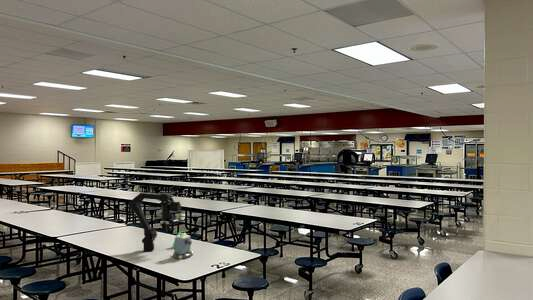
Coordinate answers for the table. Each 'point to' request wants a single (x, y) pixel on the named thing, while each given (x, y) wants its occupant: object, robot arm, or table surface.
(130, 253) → the table surface
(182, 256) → the tribrach base
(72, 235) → the table surface
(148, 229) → the robot arm
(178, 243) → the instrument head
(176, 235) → the camera mount
